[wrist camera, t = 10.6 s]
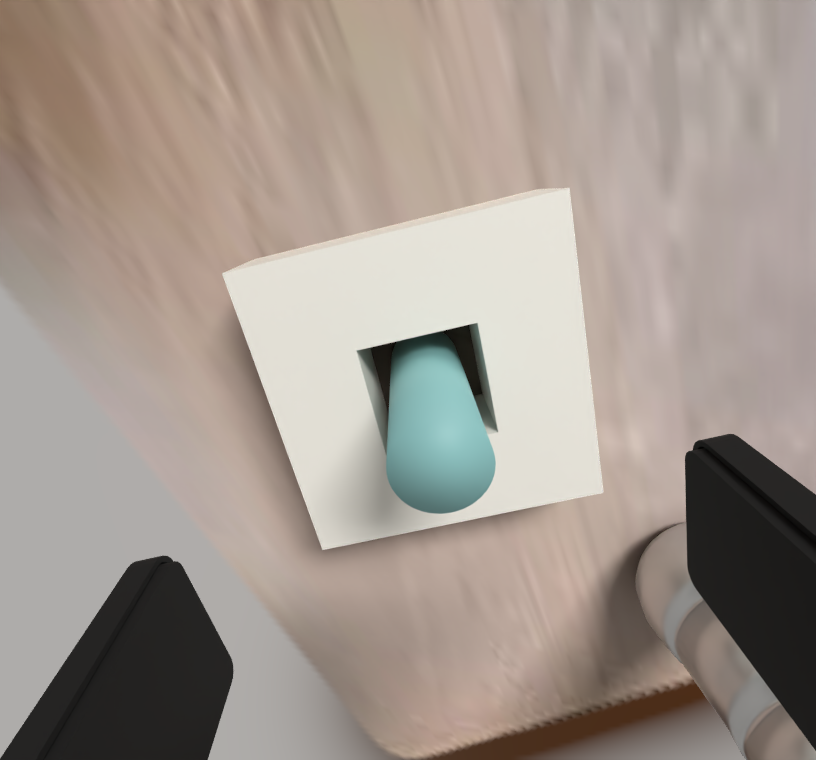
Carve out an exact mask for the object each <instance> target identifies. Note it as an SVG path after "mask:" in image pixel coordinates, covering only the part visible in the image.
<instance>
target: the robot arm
mask: <svg viewBox="0 0 816 760" xmlns="http://www.w3.org/2000/svg"><path fill="white" fill-rule="evenodd" d="M685 478H686V529H687V568H688V573H689V576H690V579H691V581H692V583H693V585H694V587H695V588H696V590H697V591H698V593H699V594H700V595H701V597H702V598H703V599H704V601H705V602H706V603H707V605H708V606H709V607H710V609H711V610H712V612H713V613H714V614H715V616H716V617H717V618H718V620H719V621H720V622H721V624H722V625H723V626H724V628H725V629H726V630H727V632H728V633H729V634H730V636H731V637H732V639H733V640H734V641H735V643H736V644H737V645H738V647H739V648H740V649H741V651H742V652H743V653H744V655H745V656H746V657H747V659H748V660H749V662H750V663H751V664H752V666H753V667H754V668H755V670H756V671H757V672H758V674H759V675H760V676H761V678H762V679H763V680H764V682H765V683H766V684H767V686H768V687H769V689H770V690H771V691H772V693H773V694H774V695H775V697H776V698H777V699H778V701H779V702H780V703H781V705H782V706H783V707H784V709H785V710H786V712H787V713H788V714H789V716H790V717H791V718H792V720H793V721H794V722H795V724H796V725H797V726H798V728H799V729H800V730H801V732H802V733H803V734H804V736H805V737H806V739H807V740H808V741H809V743H810V744H811V745H812V747H813V748H814V749H815V751H816V495H815V494H814V493H813V492H811V491H810V490H809V489H807V488H806V487H805V486H803V485H802V484H801V483H799V482H798V481H797V480H795V479H794V478H793V477H791V476H790V475H789V474H787V473H786V472H785V471H783V470H782V469H781V468H779V467H778V466H777V465H775V464H774V463H773V462H771V461H770V460H769V459H767V458H766V457H765V456H763V455H762V454H761V453H759V452H758V451H757V450H755V449H754V448H753V447H751V446H750V445H749V444H747V443H746V442H745V441H743V440H742V439H741V438H739V437H738V436H736V435H734V434H727V435H722V436H718V437H713V438H708V439H704V440H699V441H697V442H695V444H694V446H693V451H689V452H687V453H686V456H685ZM232 679H233V663H232V660H231V657H230V655H229V654H228V651H227V650H226V648H225V646H224V644H223V642H222V640H221V638H220V636H219V634H218V632H217V631H216V629H215V627H214V625H213V623H212V621H211V619H210V617H209V615H208V614H207V612H206V610H205V608H204V606H203V604H202V602H201V600H200V598H199V597H198V595H197V593H196V591H195V589H194V587H193V585H192V583H191V581H190V580H189V578H188V576H187V574H186V572H185V570H184V568H183V567H182V565H181V564H180V563H179V562H175V561H174V562H173V560H172V559H171V558H170V557H168V556H160V557H155V558H150V559H146V560H141V561H136V562H134V563H132V564H131V565H130V566H129V567H128V568H127V570H126V571H125V573H124V574H123V576H122V577H121V579H120V580H119V582H118V583H117V585H116V586H115V588H114V589H113V591H112V592H111V594H110V595H109V597H108V598H107V600H106V601H105V603H104V604H103V606H102V607H101V609H100V610H99V612H98V613H97V615H96V616H95V618H94V619H93V621H92V622H91V624H90V625H89V627H88V628H87V630H86V631H85V633H84V634H83V636H82V637H81V639H80V640H79V642H78V643H77V645H76V646H75V648H74V649H73V651H72V652H71V654H70V655H69V657H68V658H67V660H66V661H65V662H64V664H63V665H62V667H61V669H60V670H59V672H58V673H57V675H56V676H55V677H54V679H53V680H52V682H51V683H50V685H49V686H48V688H47V689H46V691H45V692H44V694H43V696H42V697H41V698H40V700H39V701H38V703H37V704H36V706H35V707H34V709H33V711H32V712H31V713H30V715H29V716H28V718H27V719H26V721H25V722H24V724H23V725H22V727H21V728H20V730H19V731H18V733H17V734H16V736H15V737H14V739H13V740H12V742H11V743H10V745H9V746H8V748H7V749H6V751H5V752H4V754H3V756H2V757H1V758H0V760H208V757H209V753H210V750H211V747H212V744H213V741H214V737H215V734H216V731H217V728H218V724H219V721H220V718H221V714H222V712H223V709H224V705H225V702H226V699H227V696H228V692H229V689H230V686H231V683H232Z"/></svg>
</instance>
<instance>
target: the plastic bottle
mask: <svg viewBox="0 0 816 760" xmlns="http://www.w3.org/2000/svg"><path fill="white" fill-rule="evenodd" d="M635 586H636V592H637V595H638V598H639V601H640V604H641V607H642V610H643V612H644V615H645V617H646V620H647V622H648V623H649V625H650V626H651V627H652V629H653V630H654V631H655V633H656V634H657V635H658V636H659V638H660V639H661V640H662V642H663V643H664V644H665V646H666V647H667V648H668V649H669V650H670V651H671V653H672V654H673V655H674V656H675V657H676V658H677V659H678V660H679V661H680V662H681V663H682V664H683V665H684V667H685V668H686V670H687V671H688V672H689V674H690V675H691V677H692V678H693V679H694V681H695V682H696V684H697V685H698V687H699V688H700V689H701V691H702V692H703V694H704V695H705V696H706V698H707V699H708V701H709V702H710V703H711V705H712V706H713V708H714V709H715V711H716V712H717V714H718V715H719V716H720V718H721V719H722V721H723V722H724V724H725V725H726V727H727V728H728V730H729V731H730V733H731V735H732V737H733V739H734V741H735V743H736V744H737V746H738V748H739V750H740V752H741V754H742V755H743V756H744V757H745V759H746V760H816V751H815V749H814V748H813V747H812V745H811V744H810V743H809V741H808V740H807V739H806V737H805V736H804V734H803V733H802V732H801V730H800V729H799V728H798V726H797V725H796V724H795V722H794V721H793V720H792V718H791V717H790V716H789V714H788V713H787V712H786V710H785V709H784V707H783V706H782V705H781V703H780V702H779V701H778V699H777V698H776V697H775V695H774V694H773V693H772V691H771V690H770V689H769V687H768V686H767V684H766V683H765V682H764V680H763V679H762V678H761V676H760V675H759V674H758V672H757V671H756V670H755V668H754V667H753V666H752V664H751V663H750V662H749V660H748V659H747V657H746V656H745V655H744V653H743V652H742V651H741V649H740V648H739V647H738V645H737V644H736V643H735V641H734V640H733V639H732V637H731V636H730V634H729V633H728V632H727V630H726V629H725V628H724V626H723V625H722V624H721V622H720V621H719V620H718V618H717V617H716V616H715V614H714V613H713V612H712V610H711V609H710V607H709V606H708V605H707V603H706V602H705V601H704V599H703V598H702V597H701V595H700V594H699V593H698V591H697V590H696V588H695V587H694V585H693V583H692V581H691V579H690V576H689V573H688V568H687V529H686V522H685V523H681V524H678V525H676V526H673V527H671V528H669V529H667V530H666V531H664V532H662V533H661V534H659V535H658V536H657V537H656V538H655V539H654V540H652V542H651V543H650V544H649V545H648V546H647V547H646V549H645V550H644V552H643V554H642V555H641V558H640V561H639V564H638V568H637V572H636V580H635Z"/></svg>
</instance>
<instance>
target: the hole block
mask: <svg viewBox="0 0 816 760" xmlns="http://www.w3.org/2000/svg"><path fill="white" fill-rule="evenodd" d="M222 275H223V278H224V280H225V283H226V286H227V289H228V291H229V294H230V297H231V300H232V302H233V305H234V308H235V311H236V313H237V316H238V319H239V322H240V324H241V327H242V330H243V333H244V335H245V338H246V341H247V344H248V346H249V349H250V352H251V355H252V357H253V360H254V363H255V366H256V368H257V371H258V374H259V377H260V379H261V382H262V385H263V388H264V390H265V393H266V396H267V399H268V401H269V404H270V407H271V410H272V412H273V415H274V418H275V421H276V423H277V426H278V429H279V432H280V434H281V437H282V440H283V443H284V445H285V448H286V451H287V454H288V456H289V459H290V462H291V465H292V467H293V470H294V473H295V476H296V478H297V481H298V484H299V487H300V489H301V492H302V495H303V498H304V500H305V503H306V506H307V509H308V511H309V514H310V517H311V520H312V522H313V525H314V528H315V531H316V533H317V536H318V539H319V542H320V544H321V547H322V550H326V549H331V548H336V547H340V546H345V545H350V544H355V543H360V542H365V541H370V540H375V539H380V538H384V537H389V536H394V535H399V534H404V533H409V532H414V531H419V530H424V529H428V528H433V527H438V526H443V525H448V524H453V523H458V522H463V521H468V520H472V519H477V518H482V517H487V516H492V515H497V514H502V513H507V512H512V511H516V510H521V509H526V508H531V507H536V506H541V505H546V504H551V503H556V502H561V501H565V500H570V499H575V498H580V497H585V496H590V495H595V494H600V493H603V484H602V476H601V467H600V458H599V449H598V440H597V431H596V422H595V413H594V404H593V395H592V386H591V377H590V368H589V359H588V350H587V341H586V332H585V323H584V314H583V305H582V296H581V287H580V278H579V269H578V260H577V251H576V242H575V233H574V225H573V216H572V207H571V198H570V189H569V188H555V189H536V190H532V191H528V192H524V193H520V194H516V195H512V196H508V197H504V198H500V199H496V200H492V201H488V202H484V203H480V204H476V205H472V206H467V207H463V208H459V209H455V210H451V211H447V212H443V213H439V214H435V215H431V216H427V217H423V218H419V219H415V220H411V221H407V222H403V223H399V224H395V225H391V226H387V227H382V228H378V229H374V230H370V231H366V232H362V233H358V234H354V235H350V236H346V237H342V238H338V239H334V240H330V241H326V242H322V243H318V244H314V245H310V246H306V247H302V248H297V249H293V250H289V251H285V252H281V253H277V254H273V255H269V256H265V257H261V258H257V259H253V260H251V261H249V262H247V263H244V264H242V265H240V266H238V267H235V268H233V269H231V270H229V271H227V272H224V273H222ZM465 325H469V328H470V333H471V338H472V343H473V348H474V353H475V359H476V364H477V369H478V374H479V379H480V384H481V389H482V394H479V395H474V399H475V402H476V405H477V407H478V410H479V413H480V415H481V418H482V421H483V424H484V426H485V429H486V432H487V434H488V437H489V440H490V443H491V445H492V448H493V451H494V455H495V461H496V467H495V474H494V477H493V480H492V482H491V484H490V486H489V488H488V489H487V491H486V492H485V493H484V495H483V496H482V497H481V498H480V499H478V500H477V501H476V502H475V503H473V504H472V505H470V506H468V507H466V508H464V509H462V510H459V511H456V512H452V513H445V514H434V513H427V512H423V511H420V510H417V509H415V508H412V507H411V506H409V505H407V504H406V503H404V502H403V501H402V500H401V499H400V498H399V497H398V496H397V495H396V494H395V492H394V491H393V490H392V488H391V486H390V484H389V481H388V478H387V473H386V458H387V438H388V418H389V414H388V411H387V407H386V403H385V400H384V396H383V392H382V389H381V385H380V381H379V378H378V374H377V370H376V367H375V363H374V359H373V356H372V352H371V348H370V347H375V346H379V345H383V344H388V343H392V342H396V341H401V340H405V339H409V338H414V337H418V336H422V335H427V334H431V333H435V332H439V331H444V330H448V329H452V328H457V327H461V326H465Z"/></svg>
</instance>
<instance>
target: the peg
mask: <svg viewBox="0 0 816 760" xmlns="http://www.w3.org/2000/svg"><path fill="white" fill-rule="evenodd" d="M495 467H496V461H495V455H494V451H493V448H492V445H491V443H490V440H489V437H488V434H487V432H486V429H485V426H484V424H483V421H482V418H481V415H480V413H479V410H478V407H477V405H476V402H475V399H474V396H473V394H472V391H471V388H470V386H469V383H468V380H467V377H466V375H465V372H464V369H463V366H462V364H461V361H460V358H459V356H458V353H457V350H456V348H455V345H454V343H453V342H452V340H451V339H450V338H449V337H448V336H447V335H446V334H444V333H443V332H441V331H439V332H435V333H431V334H427V335H422V336H418V337H414V338H409V339H405V340H401V341H397V343H396V344H395V346H394V348H393V351H392V358H391V377H390V397H389V418H388V438H387V458H386V473H387V478H388V481H389V484H390V486H391V488H392V490H393V491H394V492H395V494H396V495H397V496H398V497H399V498H400V499H401V500H402V501H403V502H404V503H406V504H407V505H409V506H411V507H412V508H415V509H417V510H420V511H423V512H427V513H434V514H445V513H452V512H456V511H459V510H462V509H464V508H466V507H468V506H470V505H472V504H473V503H475V502H476V501H477V500H478V499H480V498H481V497H482V496H483V495H484V493H485V492H486V491H487V489H488V488H489V486H490V484H491V482H492V480H493V477H494V474H495Z"/></svg>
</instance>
